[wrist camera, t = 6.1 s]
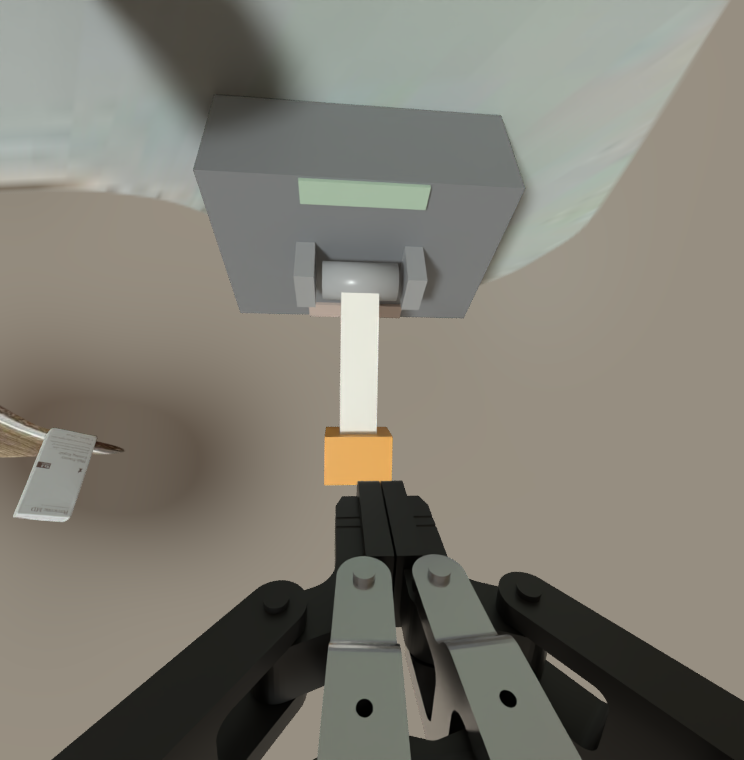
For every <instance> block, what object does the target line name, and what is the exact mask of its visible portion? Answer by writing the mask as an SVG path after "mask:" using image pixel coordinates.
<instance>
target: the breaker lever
mask: <svg viewBox="0 0 744 760" xmlns="http://www.w3.org/2000/svg"><path fill="white" fill-rule="evenodd" d="M398 289H399V267H398V264H394V263H367V262H340V261H323V262H322V298H323V299H337V300H341V347H340V348H341V349H340V350H341V351H340V427H326V432H325V470H324V477H325V478H324V485H357V482H358V481H379V482H380V481H392V442H393V437H392V435H391V433H390V432H389V430H388V429H387V427H377V385H378V384H377V383H378V331H379V301H396V300H397V296H398Z"/></svg>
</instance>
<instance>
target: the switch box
mask: <svg viewBox="0 0 744 760" xmlns="http://www.w3.org/2000/svg"><path fill="white" fill-rule="evenodd" d="M193 171H194V174H195V177H196V180H197V183H198V186H199V189H200V192H201V195H202V198H203V201H204V204H205V207H206V210H207V213H208V216H209V219H210V222H211V225H212V228H213V231H214V234H215V237H216V240H217V243H218V246H219V249H220V252H221V255H222V258H223V261H224V264H225V267H226V270H227V273H228V276H229V280H230V283H231V285H232V288H233V291H234V295H235V298H236V301H237V303H238V307H239V310H240V312H241V313H268V314H309V315H310V316H329V317H331V316H332V317H341V300H337V299H323V298H322V262H323V261H340V262H367V263H394V264H398V267H399V289H398V296H397V300H396V301H379V318H400V317H434V318H435V317H436V318H464V316H465V314H466V312H467V310H468V308H469V306H470V303H471V301H472V300H473V297H474V295H475V293H476V291H477V289H478V287H479V285H480V283H481V281H482V278H483V276H484V274H485V272H486V270H487V268H488V266H489V264H490V262H491V260H492V257H493V255H494V253H495V251H496V249H497V247H498V245H499V243H500V241H501V238H502V236H503V234H504V232H505V230H506V228H507V226H508V224H509V222H510V219H511V217H512V215H513V213H514V211H515V209H516V207H517V205H518V203H519V200H520V198H521V196H522V194H523V192H524V190H525V186H524V183H523V180H522V177H521V174H520V171H519V168H518V165H517V162H516V159H515V156H514V153H513V150H512V147H511V144H510V141H509V138H508V135H507V132H506V129H505V126H504V123H503V120H502V117H501V116H499V115H485V114H472V113H458V112H444V111H431V110H417V109H403V108H390V107H376V106H362V105H349V104H335V103H321V102H308V101H294V100H281V99H267V98H253V97H240V96H226V95H214V97H213V101H212V104H211V108H210V111H209V115H208V118H207V122H206V125H205V129H204V133H203V136H202V140H201V143H200V147H199V150H198V154H197V157H196V161H195V165H194V168H193Z"/></svg>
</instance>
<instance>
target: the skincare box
mask: <svg viewBox="0 0 744 760" xmlns="http://www.w3.org/2000/svg"><path fill="white" fill-rule="evenodd" d="M96 441H97V436H92V435H87V434H83V433H78V432H74V431H69V430H63V429H59V428H51V429H50V431H49V432H48V433H47V435H46V436H45V438H44V441H43V444H42V446H41V449H40V451H39V454H38V456H37V459H36V461H35V464H34V466H33V468H32V471H31V473H30V476H29V478H28V481H27V483H26V486H25V488H24V491H23V493H22V496H21V498H20V501H19V503H18V506H17V508H16V510H15V513H14V515H13V517H14V518H23V519H32V520H45V521H58V522H65V521H66V520H68V519H69V518H70V517H71V515H72V512H73V509H74V506H75V502H76V500H77V497H78V494H79V491H80V488H81V485H82V482H83V479H84V476H85V473H86V470H87V467H88V464H89V461H90V458H91V455H92V452H93V449H94V446H95V443H96Z"/></svg>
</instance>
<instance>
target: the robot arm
mask: <svg viewBox="0 0 744 760" xmlns="http://www.w3.org/2000/svg"><path fill="white" fill-rule="evenodd" d="M395 627H402V630H403V636H404V641H405V657H406V661H407V665H408V669H409V673H410V677H411V681H412V684H413V689H414V692H415V696H416V700H417V704H418V708H419V712H420V716H421V720H422V724H423V728H424V732H425V737H426V739H422V738H417V737H413V736H409V732H408V723H407V722H408V721H407V710H406V700H405V689H404V677H403V666H402V655H401V648H400V644H397V641H396V628H395ZM547 652H548V653H549V654H550V655H552V656H553V657H555V658H556V659H557V660H559V661H560V662H561V663H563V664H564V665H566V666H567V667H568V668H570V669H571V670H573V671H574V672H575V673H577V674H578V675H580V676H581V677H582V678H584V679H585V680H586V681H588V682H589V683H591V684H592V685H593V686H595V687H596V688H597V689H598V690H599V691H600V692H601V693H602V694H603V696H604V697H605V699H606V701H607V703H608V704H607V703H605V702H603V701H601V700H600V699H598V698H597V697H595V696H594V695H593V694H591V693H590V692H589V691H587V690H586V689H585V688H583V687H582V686H580V685H579V684H578V683H576V682H575V681H574V680H572V679H571V678H570V677H568V676H567V675H566V674H564V673H563V672H562V671H560V670H559V669H558V668H556V667H555V666H554V665H552V664H551V663H549V662H548V661H547V660H546V656H547ZM322 686H324V696H323V706H322V717H321V727H320V737H319V747H318V757H317V758H315V759H314V760H744V701H743V700H741V699H739V698H738V697H736V696H734V695H733V694H731V693H729V692H728V691H726V690H724V689H723V688H721V687H719V686H717V685H716V684H714V683H713V682H711V681H709V680H708V679H706V678H704V677H703V676H701V675H699V674H698V673H696V672H694V671H693V670H691V669H689V668H688V667H686V666H684V665H683V664H681V663H679V662H678V661H676V660H674V659H673V658H671V657H669V656H668V655H666V654H664V653H663V652H661V651H659V650H658V649H656V648H654V647H653V646H651V645H649V644H648V643H646V642H644V641H643V640H641V639H640V638H638V637H636V636H635V635H633V634H631V633H630V632H628V631H626V630H625V629H623V628H621V627H619V626H618V625H616V624H615V623H613V622H611V621H610V620H608V619H606V618H604V617H602V616H601V615H599V614H598V613H596V612H594V611H593V610H591V609H590V608H588V607H586V606H585V605H583V604H581V603H580V602H578V601H576V600H574V599H573V598H571V597H570V596H568V595H566V594H565V593H563V592H561V591H560V590H558V589H556V588H555V587H553V586H551V585H550V584H548V583H546V582H545V581H543V580H541V579H540V578H538V577H536V576H533V575H531V574H528V573H523V572H511V573H508V574H505V575H504V576H503V577H502V578H501V579H500V581H499V586H494V585H489V584H485V583H481V582H477V581H474V580H471V579H469V578H468V577H467V575H466V573H465V571H464V569H463V568H462V567H461V566H460V564H458V563H457V562H456V561H454V560H453V559H451V558H449V557H447V554H446V551H445V549H444V546H443V543H442V541H441V538H440V535H439V533H438V531H437V528H436V527H435V522H434V520H433V518H432V515H431V512H430V509H429V506H428V504H426V503H425V502H424V501H423V500H422V499H421V498H420V497H419V496H407V494H406V491H405V488H404V484H403V482H402V481H380V482H379V481H358V482H357V496H348V497H347V496H346V497H345V496H344V497H341V499H340V501H339V502H338V503H337V505H336V518H335V570H334V572H333V574H332V575H331V576H330V577H329V578H328V579H327V580H326V581H325V582H324V583H322V584H320V585H318V586H316V587H313V588H310V589H307V590H303V589H302V588H301V587H300V586H299V585H298V584H296V583H293V582H290V581H285V580H282V581H281V580H279V581H273V582H269V583H267V584H264V585H262V586H261V587H259V588H258V589H256V590H255V591H254V592H252V593H251V594H250V595H249V596H248V597H247V598H246V599H244V600H243V601H242V602H240V604H238V605H237V606H236V607H234V608H233V609H232V610H231V611H230V612H228V613H227V614H226V615H225V616H224V617H222V618H221V619H220V620H219V621H218V622H216V623H215V624H214V625H213V626H212V627H210V628H209V629H208V630H207V631H206V632H204V633H203V634H202V635H201V636H200V637H198V638H197V639H196V640H195V641H194V642H192V643H191V644H190V645H189V646H188V647H186V648H185V649H184V650H183V651H182V652H180V653H179V654H178V655H177V656H176V657H174V658H173V659H172V660H171V661H170V662H168V663H167V664H166V665H165V666H164V667H162V668H161V669H160V670H159V671H158V672H156V673H155V674H154V675H153V676H152V677H151V678H149V679H148V680H147V681H146V682H144V683H143V684H142V685H141V686H140V687H138V688H137V689H136V690H135V691H134V692H132V693H131V694H130V695H129V696H127V697H126V698H125V699H124V700H123V701H121V702H120V703H119V704H118V705H117V706H116V707H114V708H113V709H112V710H111V711H110V712H108V713H107V714H106V715H105V716H104V717H102V718H101V719H100V720H99V721H97V722H96V723H95V724H94V725H93V726H91V727H90V728H89V729H88V730H87V731H86V732H84V733H83V734H82V735H81V736H79V737H78V738H77V739H76V740H75V741H73V742H72V743H71V744H70V745H69V746H67V748H65V749H64V750H63V751H61V752H60V753H59V754H58V755H57V756H56V757H54V758H53V759H52V760H261V759H262V757H263V756H264V755H265V753H266V752H267V751H268V749H269V748H270V747H271V745H272V744H273V743H274V742H275V740H276V739H277V738H278V736H279V735H280V734H281V733H282V731H283V730H284V729H285V727H286V726H287V725H288V723H289V722H290V721H291V719H292V718H293V717H294V716H295V714H296V713H297V712H298V711H299V709H300V708H301V706H302V705H303V703H304V701H305V698H306V695H307V693H308V692H310V691H313V690H315V689H317V688H320V687H322Z"/></svg>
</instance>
